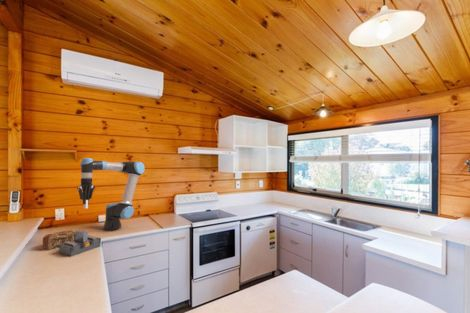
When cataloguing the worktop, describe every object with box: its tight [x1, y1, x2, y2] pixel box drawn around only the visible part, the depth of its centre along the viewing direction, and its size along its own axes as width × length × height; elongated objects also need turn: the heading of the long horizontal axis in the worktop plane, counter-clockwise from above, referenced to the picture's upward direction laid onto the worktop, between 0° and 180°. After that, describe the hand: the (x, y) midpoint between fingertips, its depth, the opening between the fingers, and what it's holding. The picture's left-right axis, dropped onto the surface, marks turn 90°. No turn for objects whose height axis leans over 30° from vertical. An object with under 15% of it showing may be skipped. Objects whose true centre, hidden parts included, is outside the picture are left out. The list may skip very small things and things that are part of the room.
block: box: [74, 229, 89, 243], centre depth 168 cm, size 9×3×10 cm, turn 66°
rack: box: [58, 235, 102, 257], centre depth 167 cm, size 21×14×7 cm, turn 157°
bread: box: [42, 229, 75, 251], centre depth 175 cm, size 19×11×10 cm, turn 147°
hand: (85, 208), depth 182 cm, fingers closed
